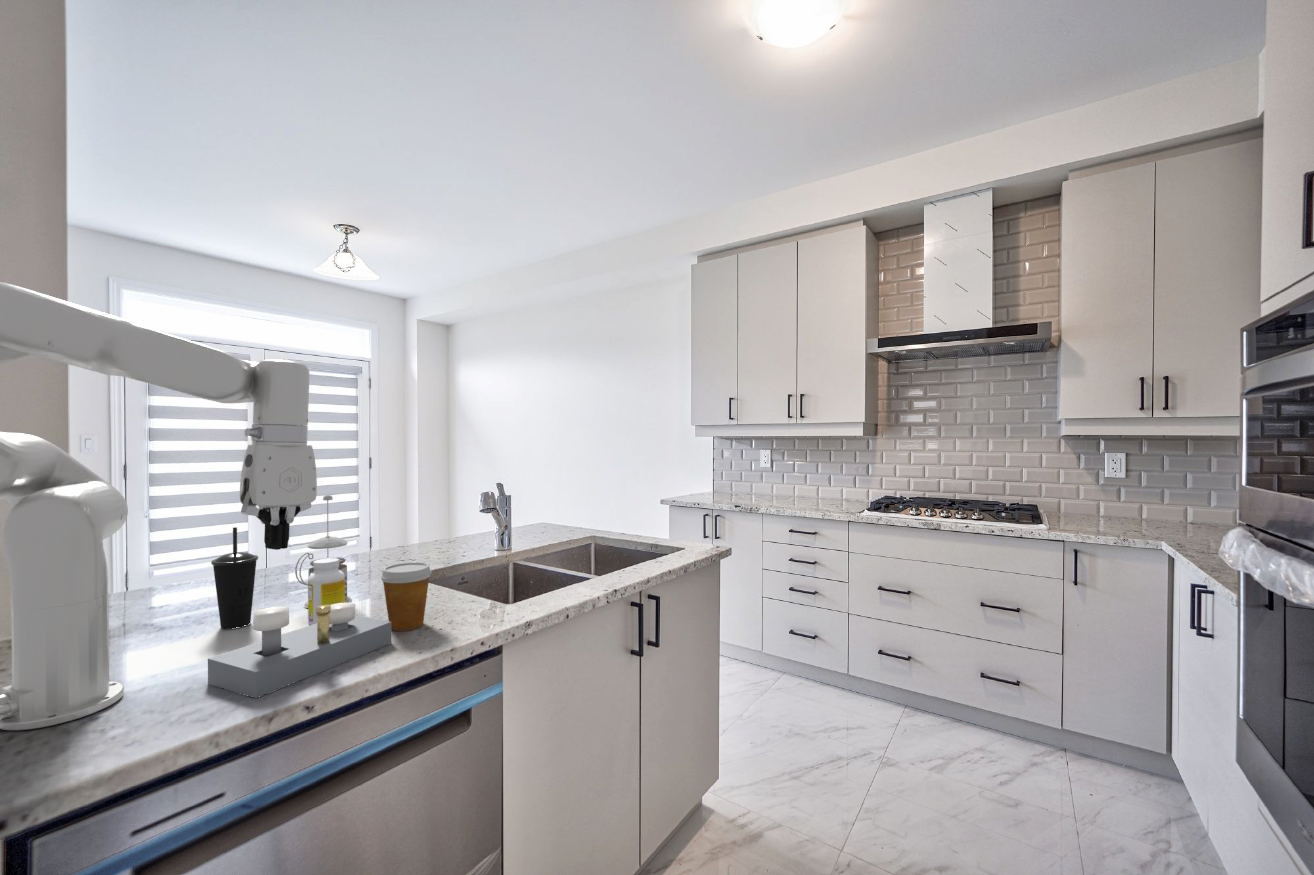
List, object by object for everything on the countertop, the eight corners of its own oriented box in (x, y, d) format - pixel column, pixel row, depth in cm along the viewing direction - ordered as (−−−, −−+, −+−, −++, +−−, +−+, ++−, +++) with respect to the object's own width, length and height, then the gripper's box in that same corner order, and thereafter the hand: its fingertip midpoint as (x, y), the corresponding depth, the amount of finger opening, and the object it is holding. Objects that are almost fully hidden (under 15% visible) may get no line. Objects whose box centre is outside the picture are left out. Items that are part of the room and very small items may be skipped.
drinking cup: (201, 630, 112) (201, 529, 112) (238, 617, 119) (238, 523, 119) (232, 633, 110) (231, 531, 110) (267, 620, 117) (267, 525, 117)
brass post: (321, 645, 93) (321, 609, 93) (312, 643, 94) (312, 607, 94) (333, 640, 95) (333, 605, 95) (325, 638, 96) (324, 604, 96)
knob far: (336, 650, 99) (336, 612, 99) (318, 646, 101) (318, 608, 101) (360, 641, 103) (360, 604, 103) (342, 637, 105) (342, 601, 105)
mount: (255, 698, 83) (255, 671, 83) (207, 683, 88) (207, 658, 88) (391, 643, 105) (391, 621, 105) (347, 633, 110) (347, 613, 110)
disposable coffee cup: (426, 615, 121) (425, 559, 121) (436, 628, 113) (436, 568, 113) (377, 623, 116) (376, 565, 116) (384, 637, 108) (384, 575, 108)
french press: (361, 600, 131) (361, 494, 131) (309, 614, 121) (309, 499, 121) (337, 594, 136) (336, 491, 136) (285, 607, 126) (285, 496, 126)
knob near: (265, 660, 88) (265, 617, 88) (246, 655, 90) (246, 613, 90) (296, 649, 92) (295, 608, 92) (277, 645, 94) (277, 605, 94)
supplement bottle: (352, 617, 120) (352, 557, 120) (331, 628, 113) (330, 564, 113) (322, 616, 120) (322, 556, 120) (300, 626, 114) (299, 563, 114)
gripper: (247, 436, 84) (242, 559, 84) (337, 437, 98) (334, 543, 97) (215, 434, 87) (211, 553, 86) (308, 436, 100) (304, 539, 100)
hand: (276, 547), depth 92 cm, fingers closed
